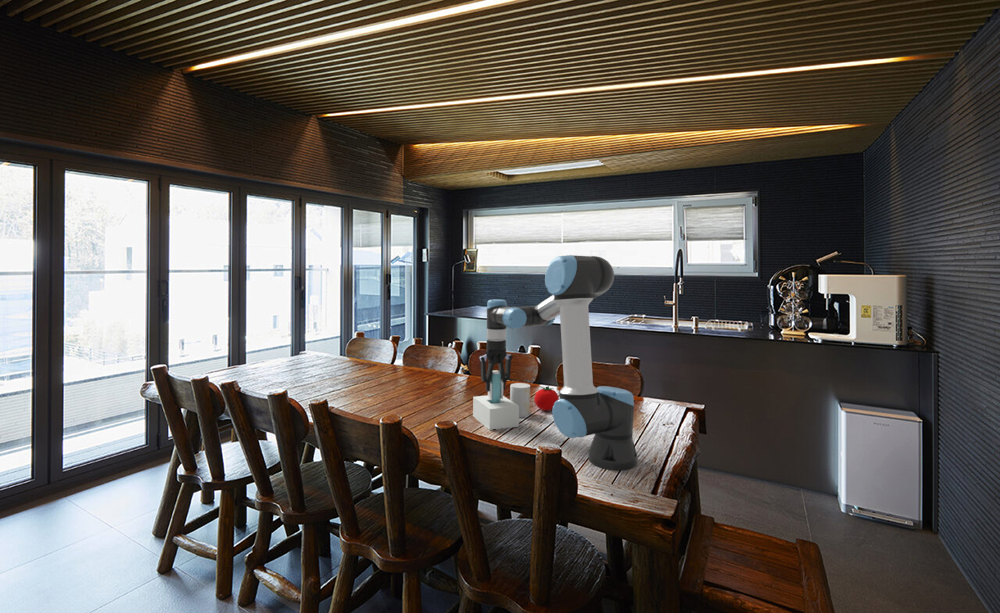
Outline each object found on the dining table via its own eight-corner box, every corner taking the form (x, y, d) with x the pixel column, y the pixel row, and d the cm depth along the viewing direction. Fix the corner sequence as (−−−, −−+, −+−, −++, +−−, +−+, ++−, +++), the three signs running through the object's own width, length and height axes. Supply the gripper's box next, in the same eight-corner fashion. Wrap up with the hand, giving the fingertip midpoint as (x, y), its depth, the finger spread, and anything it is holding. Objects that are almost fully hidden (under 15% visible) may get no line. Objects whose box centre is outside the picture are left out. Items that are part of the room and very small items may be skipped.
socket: (518, 426, 186) (519, 405, 186) (489, 430, 182) (489, 409, 181) (500, 412, 203) (500, 394, 202) (473, 416, 198) (473, 396, 198)
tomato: (531, 412, 205) (531, 388, 204) (537, 405, 214) (537, 383, 214) (556, 414, 201) (556, 391, 201) (560, 407, 211) (561, 385, 210)
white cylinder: (528, 417, 197) (528, 388, 196) (508, 416, 199) (508, 387, 198) (530, 411, 205) (531, 383, 204) (511, 410, 207) (512, 382, 206)
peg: (501, 409, 191) (502, 372, 190) (492, 410, 189) (492, 372, 188) (497, 406, 195) (498, 369, 193) (488, 407, 193) (489, 370, 192)
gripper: (512, 337, 196) (511, 394, 198) (472, 339, 190) (471, 398, 192) (520, 339, 189) (519, 399, 191) (479, 342, 183) (478, 403, 185)
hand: (495, 398), depth 192 cm, fingers closed on peg, 4 cm apart
